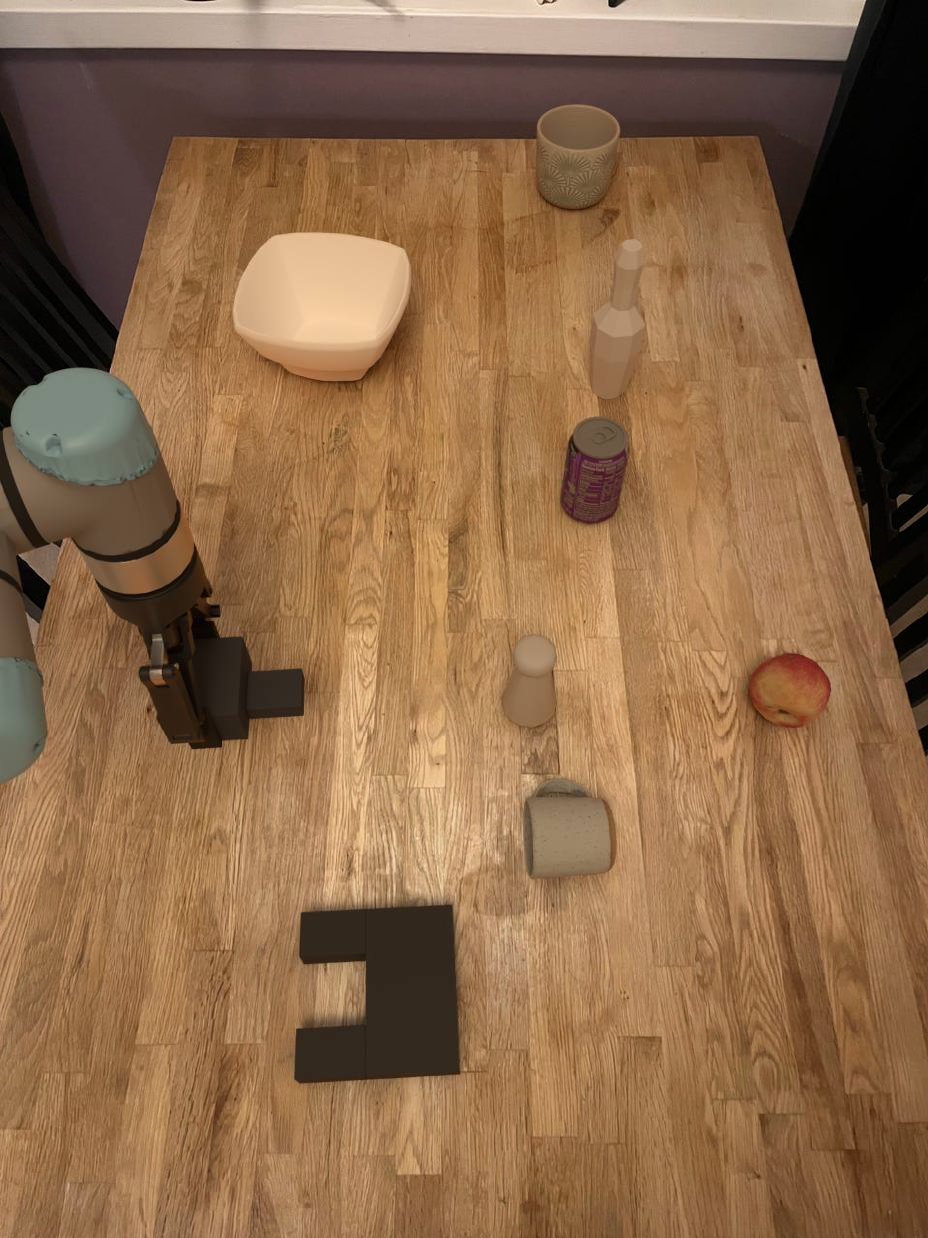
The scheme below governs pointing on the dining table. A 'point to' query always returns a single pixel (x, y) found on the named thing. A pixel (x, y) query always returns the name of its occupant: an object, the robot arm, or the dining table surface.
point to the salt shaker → (531, 682)
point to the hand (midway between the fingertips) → (210, 701)
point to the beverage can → (594, 469)
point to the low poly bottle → (618, 326)
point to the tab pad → (242, 687)
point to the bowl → (322, 302)
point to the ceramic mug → (567, 832)
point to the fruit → (790, 690)
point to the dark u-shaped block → (385, 995)
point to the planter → (575, 155)
